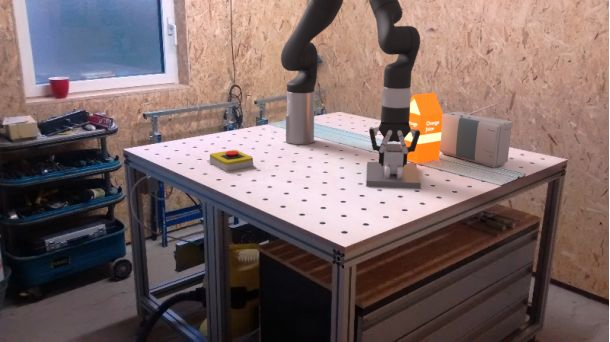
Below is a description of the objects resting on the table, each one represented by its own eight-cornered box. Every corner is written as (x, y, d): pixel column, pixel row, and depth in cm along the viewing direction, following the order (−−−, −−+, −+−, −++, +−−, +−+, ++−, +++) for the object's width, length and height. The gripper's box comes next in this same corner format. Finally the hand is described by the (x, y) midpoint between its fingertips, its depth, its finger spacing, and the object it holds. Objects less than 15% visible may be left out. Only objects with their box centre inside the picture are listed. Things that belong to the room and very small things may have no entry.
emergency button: (227, 160, 154) (204, 148, 166) (228, 175, 155) (205, 162, 167) (256, 154, 159) (232, 144, 171) (257, 169, 160) (233, 157, 172)
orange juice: (439, 159, 170) (444, 94, 164) (417, 163, 165) (422, 96, 159) (421, 153, 176) (426, 90, 170) (400, 157, 172) (404, 92, 166)
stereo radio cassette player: (436, 154, 175) (441, 91, 170) (453, 150, 180) (458, 88, 174) (494, 170, 160) (501, 101, 154) (510, 165, 164) (518, 98, 158)
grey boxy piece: (383, 173, 148) (384, 151, 146) (382, 164, 157) (383, 142, 155) (402, 174, 148) (403, 152, 146) (400, 164, 156) (402, 143, 154)
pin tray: (366, 186, 145) (366, 169, 144) (367, 166, 162) (367, 151, 161) (420, 188, 143) (421, 171, 142) (415, 168, 160) (416, 153, 159)
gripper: (368, 105, 144) (366, 168, 149) (424, 107, 142) (420, 170, 148) (368, 100, 151) (366, 160, 156) (422, 102, 150) (418, 162, 155)
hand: (392, 165), depth 152 cm, fingers closed on grey boxy piece, 5 cm apart
